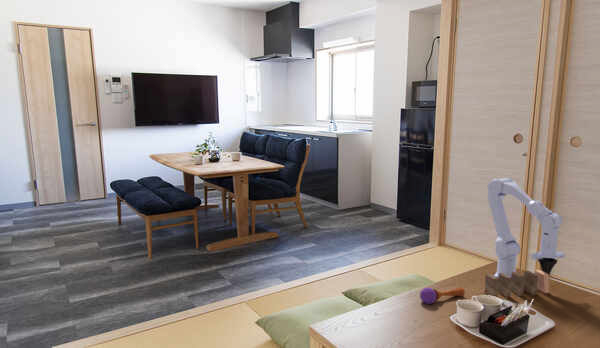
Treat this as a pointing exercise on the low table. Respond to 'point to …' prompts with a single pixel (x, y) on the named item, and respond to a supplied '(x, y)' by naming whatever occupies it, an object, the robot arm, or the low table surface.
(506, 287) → the walnut domino
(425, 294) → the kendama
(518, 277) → the walnut domino
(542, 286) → the terracotta domino
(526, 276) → the walnut domino
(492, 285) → the walnut domino
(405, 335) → the low table surface
